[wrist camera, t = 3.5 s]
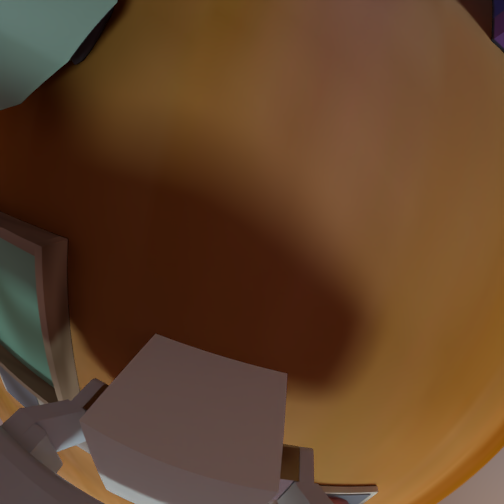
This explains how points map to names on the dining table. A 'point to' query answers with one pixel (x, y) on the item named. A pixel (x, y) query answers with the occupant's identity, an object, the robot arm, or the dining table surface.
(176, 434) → the die
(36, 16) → the character figurine
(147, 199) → the dining table surface
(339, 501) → the pawn
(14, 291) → the dice tray
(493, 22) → the cereal box
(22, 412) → the robot arm
